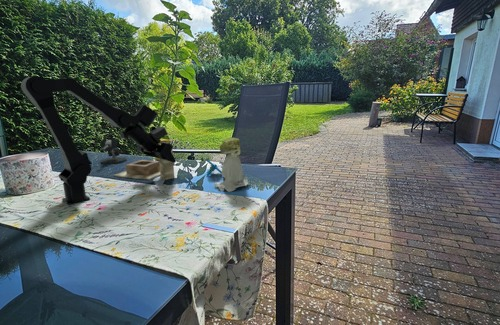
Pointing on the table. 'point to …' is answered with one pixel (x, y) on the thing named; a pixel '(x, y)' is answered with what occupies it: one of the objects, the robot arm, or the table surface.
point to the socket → (141, 170)
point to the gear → (212, 168)
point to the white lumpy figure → (231, 166)
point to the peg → (166, 168)
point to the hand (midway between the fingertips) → (168, 160)
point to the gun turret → (111, 152)
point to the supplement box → (160, 143)
